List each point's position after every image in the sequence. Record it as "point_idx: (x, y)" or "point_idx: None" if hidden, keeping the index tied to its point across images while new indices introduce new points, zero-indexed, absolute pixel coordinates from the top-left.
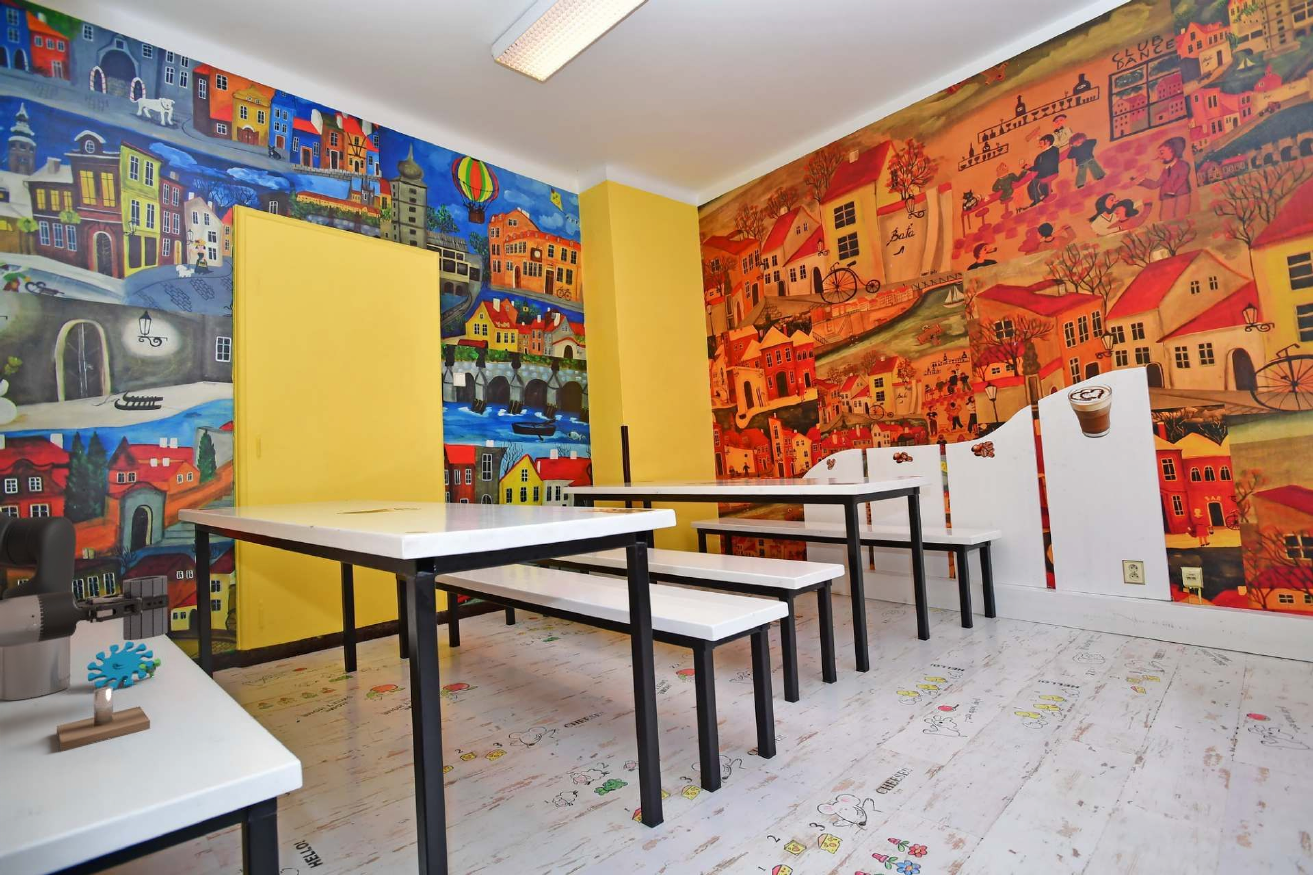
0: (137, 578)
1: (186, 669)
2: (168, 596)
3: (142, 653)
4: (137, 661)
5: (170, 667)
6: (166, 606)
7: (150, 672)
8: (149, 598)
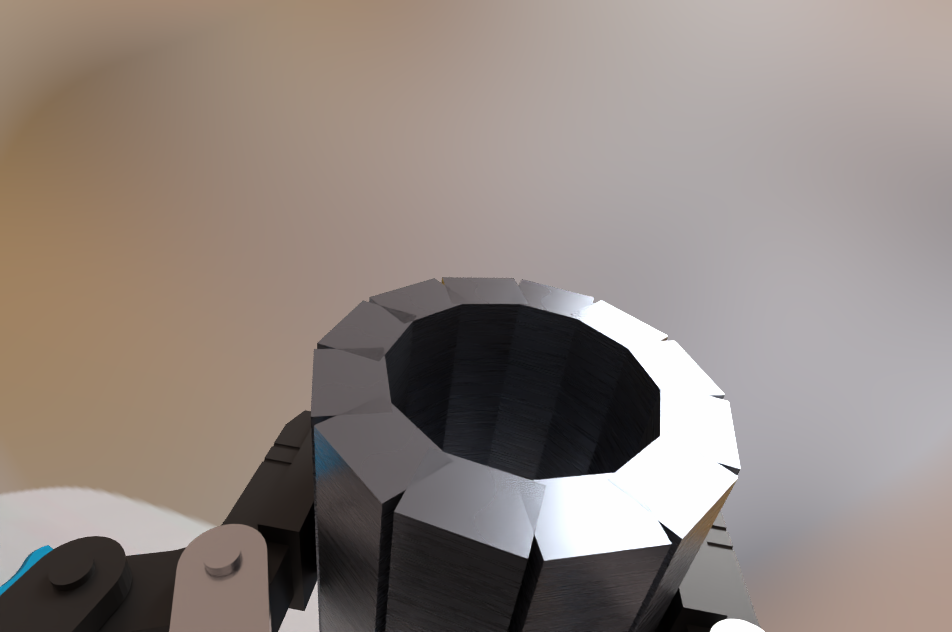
0: (383, 374)
1: (149, 512)
2: None
3: (11, 582)
4: None
5: (38, 513)
6: None
7: None
8: (707, 570)
